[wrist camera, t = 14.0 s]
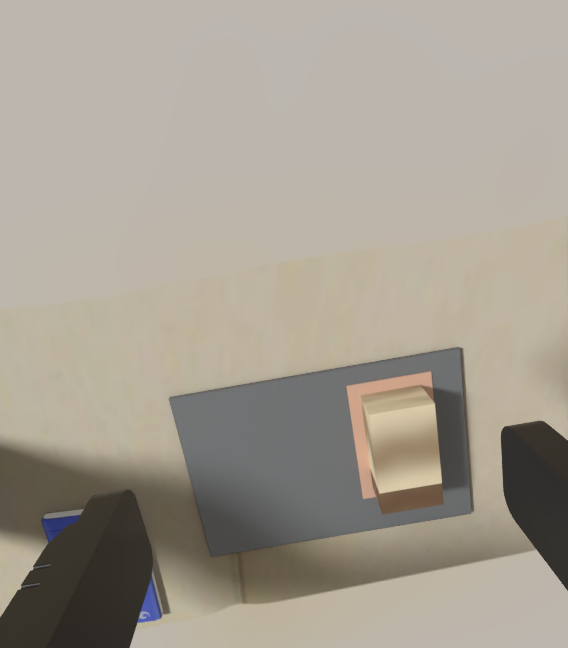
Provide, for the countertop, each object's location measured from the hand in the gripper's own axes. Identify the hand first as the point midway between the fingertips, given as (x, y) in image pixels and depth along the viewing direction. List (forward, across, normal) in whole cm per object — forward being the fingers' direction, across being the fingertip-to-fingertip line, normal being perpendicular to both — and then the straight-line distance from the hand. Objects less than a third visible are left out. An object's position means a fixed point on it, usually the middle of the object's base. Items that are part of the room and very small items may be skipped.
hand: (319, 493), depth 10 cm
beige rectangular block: (+26, -7, +15) cm, 30 cm away
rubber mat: (+26, -1, +16) cm, 31 cm away
